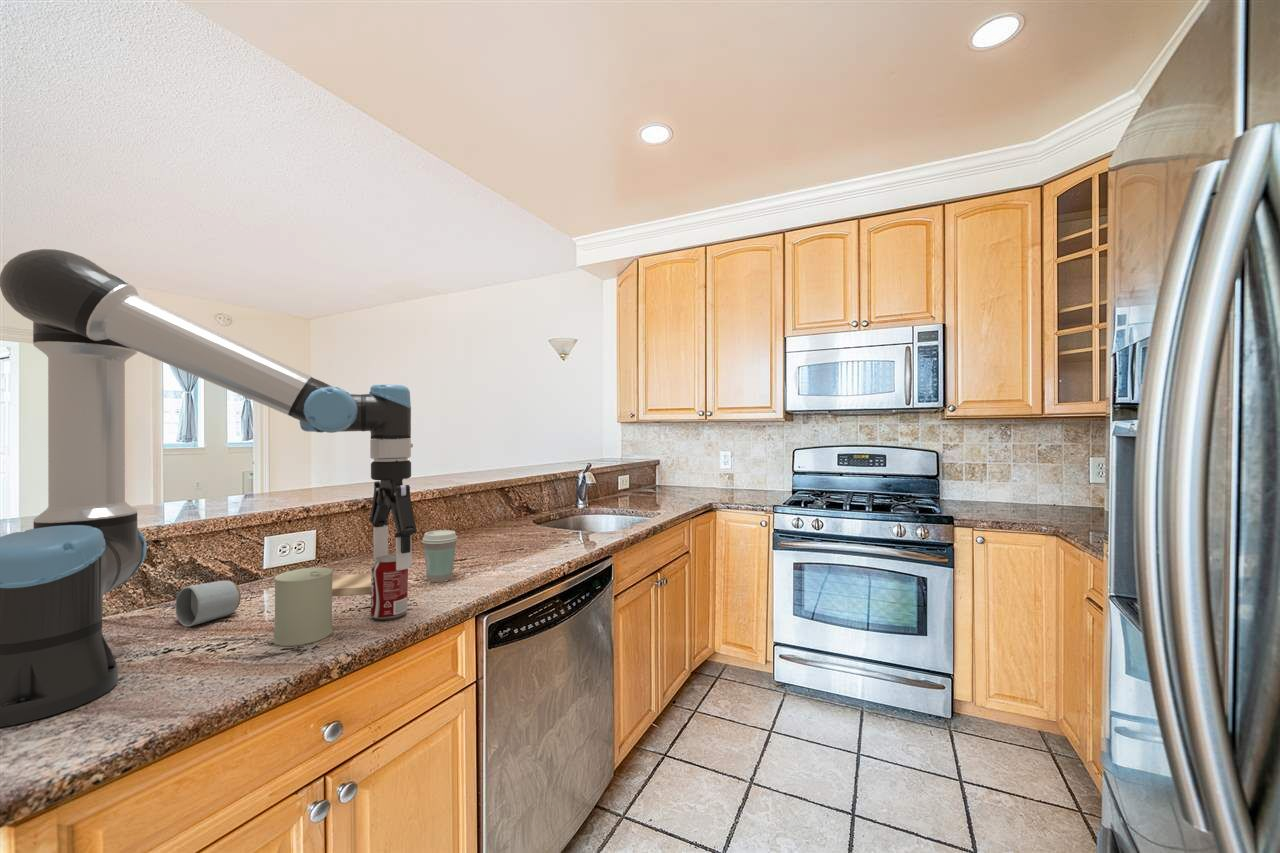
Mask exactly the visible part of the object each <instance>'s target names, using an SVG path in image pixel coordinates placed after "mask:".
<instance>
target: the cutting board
mask: <svg viewBox="0 0 1280 853" xmlns="http://www.w3.org/2000/svg"><path fill="white" fill-rule="evenodd" d="M353 595H354V596H357V595H371V573H359V574H358V573H357V574H336V575H334V574H333V578H332V597H333V596H337V597H338V596H353Z"/></svg>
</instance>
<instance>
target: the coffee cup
mask: <svg viewBox="0 0 1280 853" xmlns="http://www.w3.org/2000/svg"><path fill="white" fill-rule="evenodd" d="M458 540H459V538H458V535H457V534H456V531H455V530H450V529H438V530H432V531H427V532H425V533H424V534H423V537H422V541H421V543H423V551H424V552H423V553H424V561H425V570H426V578H427V582H429V581H430V582H429V583H433V582H438V583H442V582H441V581H445V582H447V581H446V580H449V579H451V578H453V571H454V562H455V554H456V546H457V541H458ZM451 580H452V579H451ZM449 581H450V580H449Z"/></svg>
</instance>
